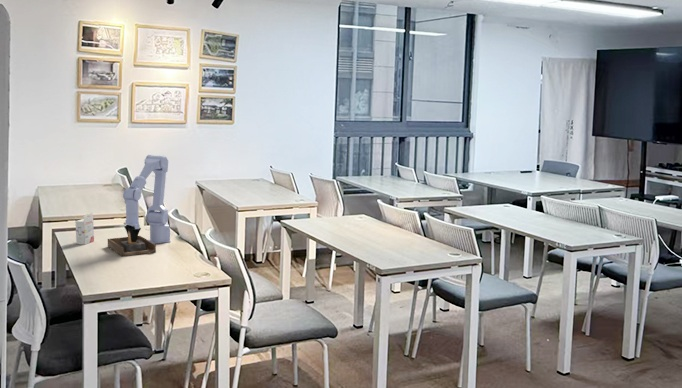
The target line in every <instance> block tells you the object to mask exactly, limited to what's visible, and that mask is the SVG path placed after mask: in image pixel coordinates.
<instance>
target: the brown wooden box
mask: <svg viewBox="0 0 682 388" xmlns="http://www.w3.org/2000/svg"><path fill="white" fill-rule="evenodd" d="M149 240H150V239H147V238H145V237H143V236H141V235H138V237H137V244H128V236H125V237H114V238H107V247H108V248H109V249H110V248H111V249H110V250H111V251H113V252H114V253H116V254H117V255H120V256H121V257H130V256H139V255H145V254H146V255H147V254H156V253H157V249H156V247H157V245H156V244H157V243H152V242H150V241H149Z"/></svg>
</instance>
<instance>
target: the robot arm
mask: <svg viewBox="0 0 682 388" xmlns="http://www.w3.org/2000/svg"><path fill="white" fill-rule="evenodd" d="M168 170H169V159H168V158H167V156H165V155H154V154H153V155H152V154H147V155H146V156H145V158H144V165H143V168H142V170H141V172H140V174H139V176H135V178H134V179H133V180H132V182H131V184H130V185H129V186H128V187H126V189H124V190H123V193H122V198H123V199H124V204H125V222H123V225H124V229H125V232H126V234H127V235H128V230H129V232H130V235H131V241H132V242H136V241H137V237H138V236H139V233H140V231H141V229H142V228H141V227H140V219H139V214H140V213H139V200H140V199H141V197H142V193H143V191H142V190H143V189H144V188H145V186H146V185H147V178H148V177H149V176H150V174H151V173H154V186H153V195H152V196H153V197H152V205H151V206H149V207H148V208H147V212H146V216H145V220H146V222H147V223H148V225H149V239H148V240H149V241H150V242H152V243H154V244H161V243H171V227H170V225H169V223H168V221H169V209H167V208H166V207H165V206H164V203H165V201H164V199H165V188H166V180H167V179H166V178H167V177H166V176H167V173H168Z"/></svg>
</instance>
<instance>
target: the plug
mask: <svg viewBox="0 0 682 388" xmlns="http://www.w3.org/2000/svg"><path fill="white" fill-rule="evenodd" d="M127 237H128V244H137V241H136V242H132V241H131V235H130V232H129V230H128V234H127Z"/></svg>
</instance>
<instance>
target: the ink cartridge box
mask: <svg viewBox="0 0 682 388" xmlns="http://www.w3.org/2000/svg"><path fill="white" fill-rule="evenodd" d="M82 217H83V218H81V219H78V220H75V241H76V243H75V244H76V245H84V246H85V245H88V244H91V243H93V242H94V241H95V229H94V225H95V224H94V213H93V212H91V213H87V214H85V215H83V216H82Z"/></svg>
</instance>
